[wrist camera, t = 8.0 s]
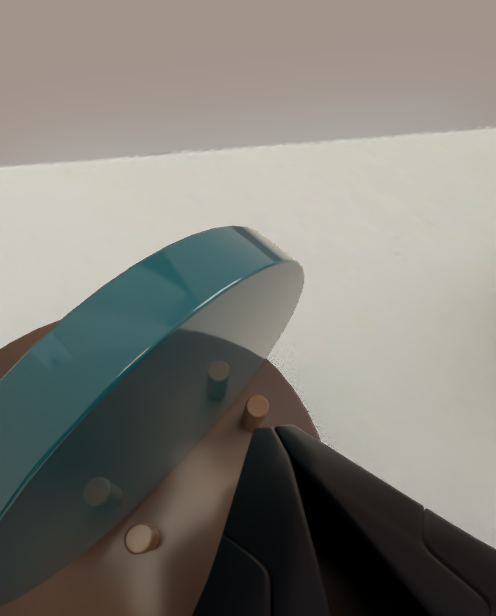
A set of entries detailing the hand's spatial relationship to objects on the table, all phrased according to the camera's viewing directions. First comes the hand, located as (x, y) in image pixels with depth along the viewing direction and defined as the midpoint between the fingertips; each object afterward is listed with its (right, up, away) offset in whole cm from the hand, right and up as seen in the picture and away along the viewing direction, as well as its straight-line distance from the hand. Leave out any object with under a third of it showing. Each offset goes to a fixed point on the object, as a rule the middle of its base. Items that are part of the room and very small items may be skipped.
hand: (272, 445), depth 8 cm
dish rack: (-5, -4, +5) cm, 7 cm away
